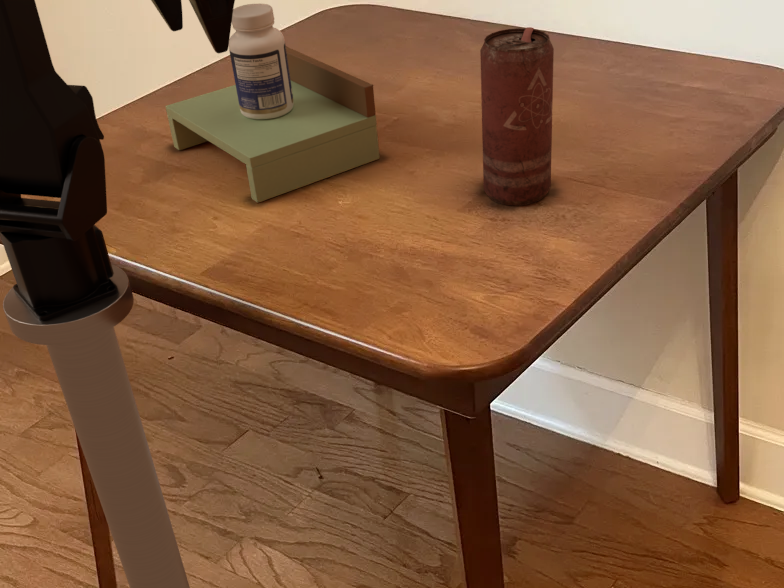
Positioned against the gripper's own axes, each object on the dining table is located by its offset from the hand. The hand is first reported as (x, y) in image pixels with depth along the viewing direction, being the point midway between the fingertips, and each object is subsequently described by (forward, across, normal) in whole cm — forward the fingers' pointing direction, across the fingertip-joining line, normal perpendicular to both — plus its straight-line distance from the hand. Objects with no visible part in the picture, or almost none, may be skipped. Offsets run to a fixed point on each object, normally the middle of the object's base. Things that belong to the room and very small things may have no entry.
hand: (198, 40), depth 94 cm
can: (+13, -24, -18) cm, 33 cm away
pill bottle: (+8, 0, -6) cm, 10 cm away
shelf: (+13, 0, -6) cm, 14 cm away
